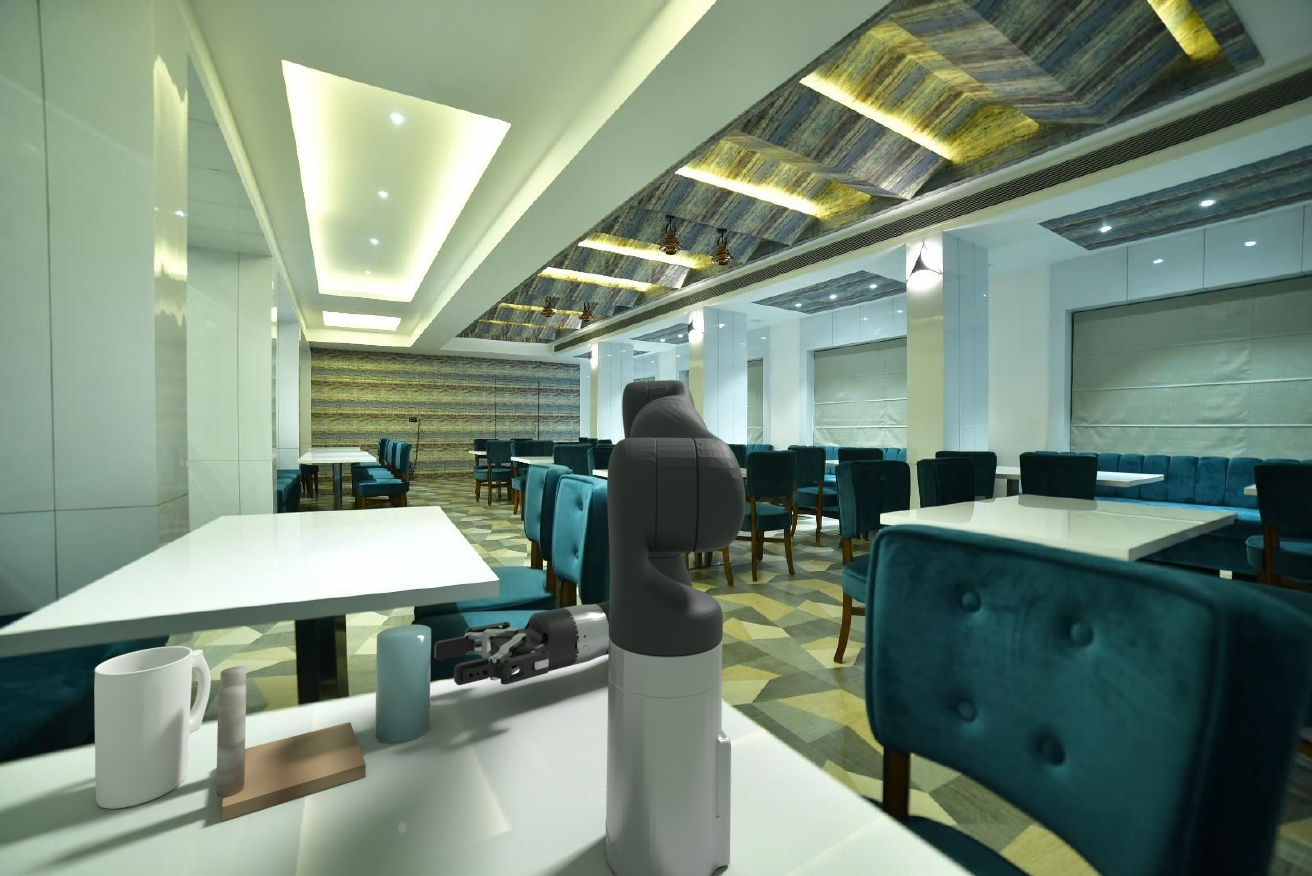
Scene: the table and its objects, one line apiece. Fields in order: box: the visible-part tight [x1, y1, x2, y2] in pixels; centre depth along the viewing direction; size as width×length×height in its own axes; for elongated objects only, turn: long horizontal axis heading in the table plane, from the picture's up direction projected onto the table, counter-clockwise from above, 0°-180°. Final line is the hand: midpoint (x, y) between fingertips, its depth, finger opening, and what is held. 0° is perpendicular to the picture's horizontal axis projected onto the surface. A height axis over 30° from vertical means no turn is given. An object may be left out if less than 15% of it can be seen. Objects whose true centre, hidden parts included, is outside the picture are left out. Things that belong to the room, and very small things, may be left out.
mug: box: [93, 645, 212, 810], centre depth 54 cm, size 10×7×12 cm, turn 174°
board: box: [215, 665, 367, 822], centre depth 55 cm, size 12×10×10 cm
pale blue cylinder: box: [374, 624, 432, 745], centre depth 63 cm, size 6×6×11 cm
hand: (444, 662), depth 65 cm, fingers open, 8 cm apart
